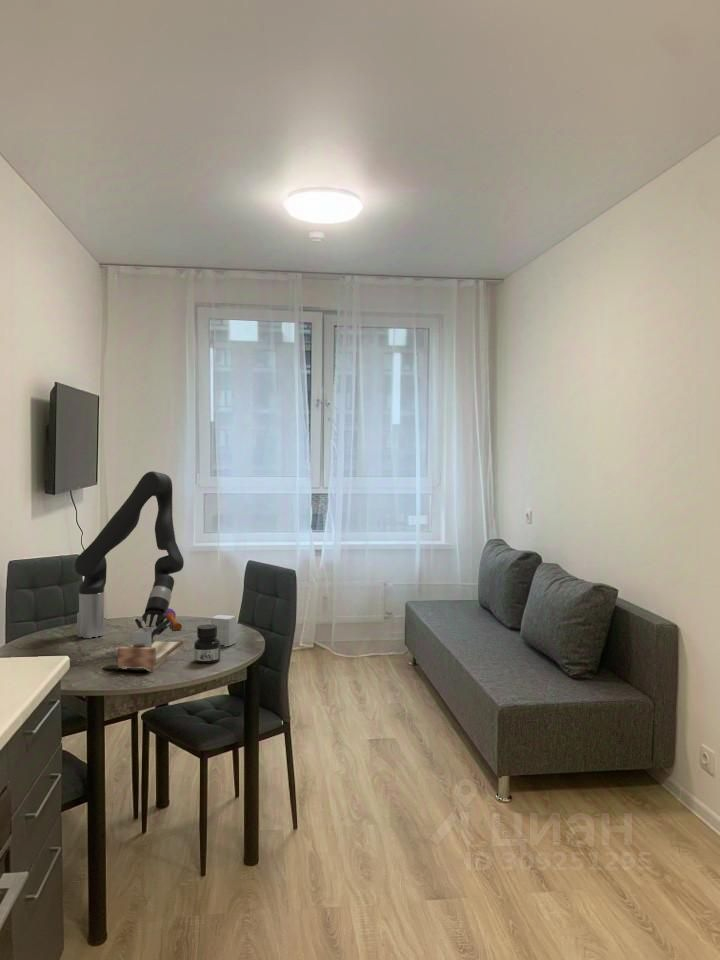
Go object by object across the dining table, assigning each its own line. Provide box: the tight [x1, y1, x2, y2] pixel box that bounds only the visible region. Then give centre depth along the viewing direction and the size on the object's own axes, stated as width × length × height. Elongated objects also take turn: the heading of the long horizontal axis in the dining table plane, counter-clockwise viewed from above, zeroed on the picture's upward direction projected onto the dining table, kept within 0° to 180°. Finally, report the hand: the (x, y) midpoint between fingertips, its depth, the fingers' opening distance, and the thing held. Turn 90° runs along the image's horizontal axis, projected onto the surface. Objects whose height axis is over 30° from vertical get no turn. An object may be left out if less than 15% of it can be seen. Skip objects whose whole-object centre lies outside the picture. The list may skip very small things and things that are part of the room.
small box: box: [210, 614, 237, 647], centre depth 271 cm, size 8×6×10 cm
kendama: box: [166, 607, 183, 631], centre depth 301 cm, size 6×6×20 cm
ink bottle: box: [193, 623, 221, 665], centre depth 249 cm, size 10×9×12 cm
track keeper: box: [132, 627, 152, 648], centre depth 243 cm, size 7×6×10 cm
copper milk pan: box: [117, 639, 185, 673], centre depth 253 cm, size 12×32×8 cm, turn 176°
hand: (146, 644), depth 247 cm, fingers closed
